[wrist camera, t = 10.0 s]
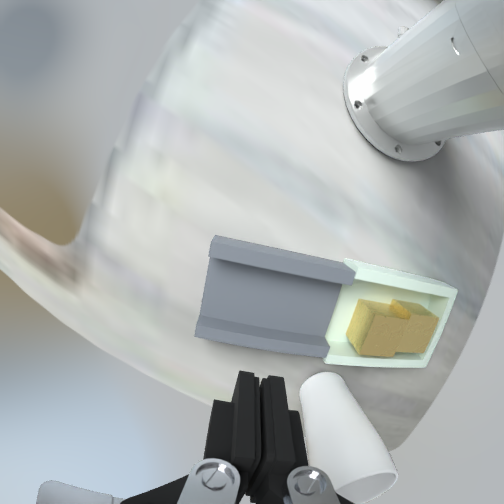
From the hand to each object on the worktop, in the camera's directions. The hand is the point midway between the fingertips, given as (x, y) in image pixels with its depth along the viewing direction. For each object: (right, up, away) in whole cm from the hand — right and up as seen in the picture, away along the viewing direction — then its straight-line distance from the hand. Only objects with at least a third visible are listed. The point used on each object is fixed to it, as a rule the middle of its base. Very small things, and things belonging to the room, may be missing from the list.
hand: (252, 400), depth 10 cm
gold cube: (+12, -1, +16) cm, 20 cm away
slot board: (+2, +2, +16) cm, 16 cm away
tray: (+13, -1, +17) cm, 21 cm away
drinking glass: (+8, -10, +19) cm, 22 cm away
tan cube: (+16, -1, +16) cm, 23 cm away
